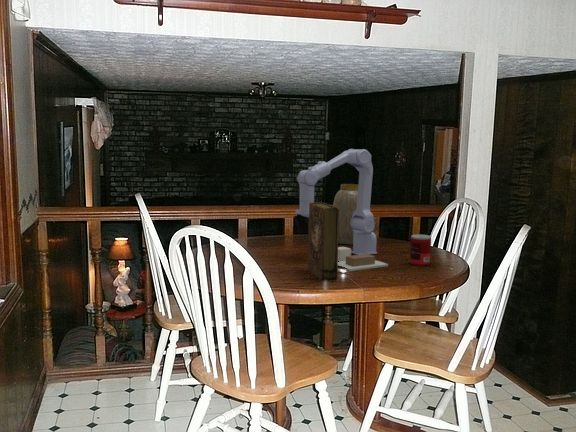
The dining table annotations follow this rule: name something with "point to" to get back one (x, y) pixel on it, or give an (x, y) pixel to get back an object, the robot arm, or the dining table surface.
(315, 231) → the book
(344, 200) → the vase
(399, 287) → the dining table surface
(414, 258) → the canned food
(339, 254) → the cream cube
